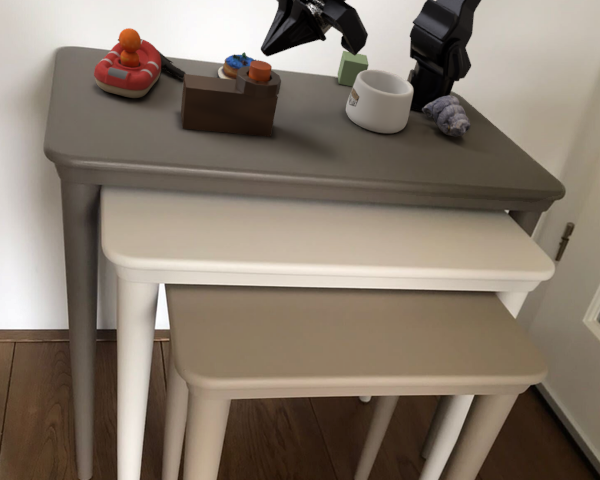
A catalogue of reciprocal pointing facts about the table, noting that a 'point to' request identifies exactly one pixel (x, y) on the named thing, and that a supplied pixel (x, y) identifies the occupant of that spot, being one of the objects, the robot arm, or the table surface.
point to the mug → (380, 101)
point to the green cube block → (351, 67)
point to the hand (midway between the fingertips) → (263, 53)
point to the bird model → (170, 67)
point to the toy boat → (129, 66)
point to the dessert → (234, 66)
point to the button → (260, 70)
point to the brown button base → (230, 103)
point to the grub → (448, 115)
